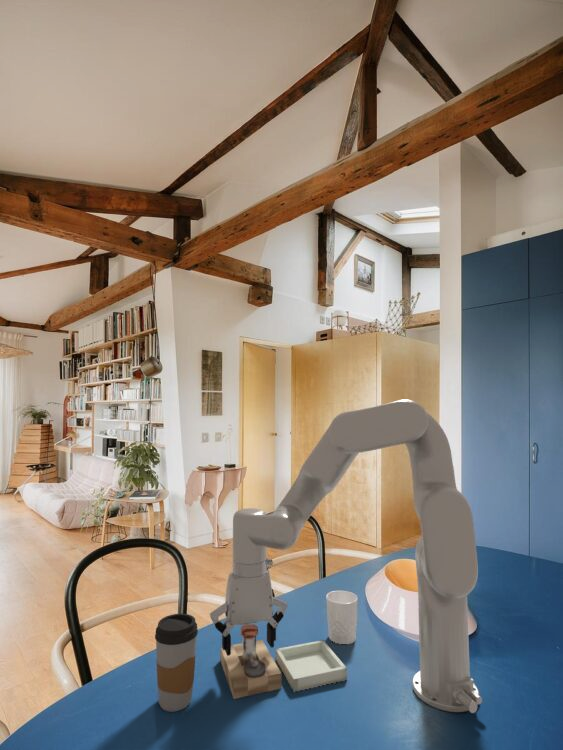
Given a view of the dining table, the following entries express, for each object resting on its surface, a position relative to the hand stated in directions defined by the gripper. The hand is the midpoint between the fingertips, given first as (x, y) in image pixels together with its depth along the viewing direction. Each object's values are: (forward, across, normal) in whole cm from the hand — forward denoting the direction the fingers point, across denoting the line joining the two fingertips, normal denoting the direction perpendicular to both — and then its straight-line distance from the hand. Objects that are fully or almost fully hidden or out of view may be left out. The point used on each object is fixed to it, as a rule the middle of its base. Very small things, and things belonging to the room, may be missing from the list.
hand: (249, 648), depth 95 cm
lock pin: (+5, 0, 0) cm, 5 cm away
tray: (+5, -13, +3) cm, 14 cm away
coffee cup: (+6, +16, +4) cm, 17 cm away
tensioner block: (+5, 0, 0) cm, 5 cm away
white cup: (+6, -26, -7) cm, 28 cm away
